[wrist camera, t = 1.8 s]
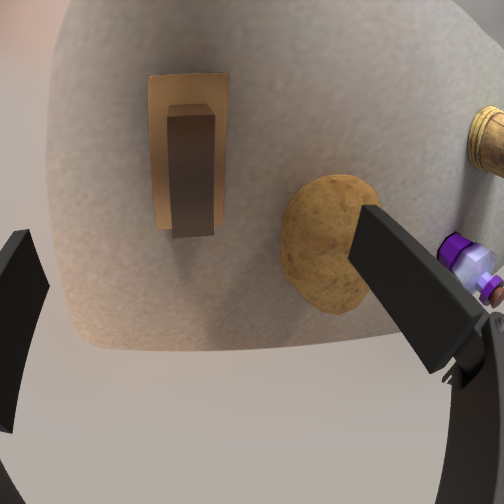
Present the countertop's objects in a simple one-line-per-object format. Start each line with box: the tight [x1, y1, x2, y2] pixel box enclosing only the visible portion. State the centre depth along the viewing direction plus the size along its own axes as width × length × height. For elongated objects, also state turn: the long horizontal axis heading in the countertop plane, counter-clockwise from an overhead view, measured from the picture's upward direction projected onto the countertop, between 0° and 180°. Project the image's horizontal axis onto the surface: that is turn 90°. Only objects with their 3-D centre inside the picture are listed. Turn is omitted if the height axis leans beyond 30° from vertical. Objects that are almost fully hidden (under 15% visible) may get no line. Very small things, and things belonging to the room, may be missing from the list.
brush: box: [148, 73, 229, 239], centre depth 18 cm, size 11×5×8 cm, turn 177°
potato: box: [280, 174, 382, 315], centre depth 25 cm, size 10×14×8 cm
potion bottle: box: [437, 232, 504, 308], centre depth 32 cm, size 9×9×12 cm
